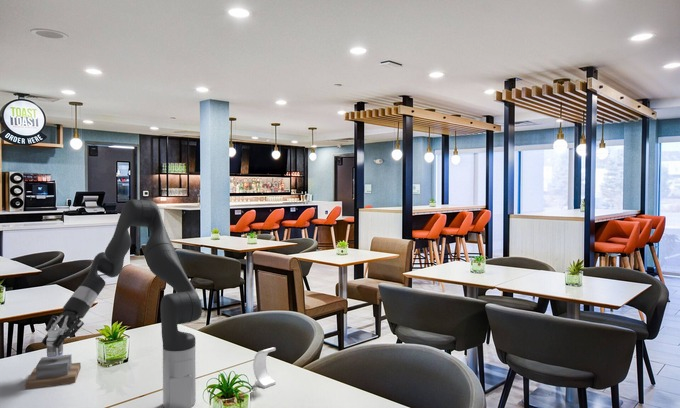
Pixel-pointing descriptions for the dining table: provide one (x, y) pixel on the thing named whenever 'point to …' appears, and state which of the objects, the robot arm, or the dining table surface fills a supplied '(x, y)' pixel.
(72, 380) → the pedestal
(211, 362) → the dining table surface
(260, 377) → the headphone stand
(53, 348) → the pill bottle
